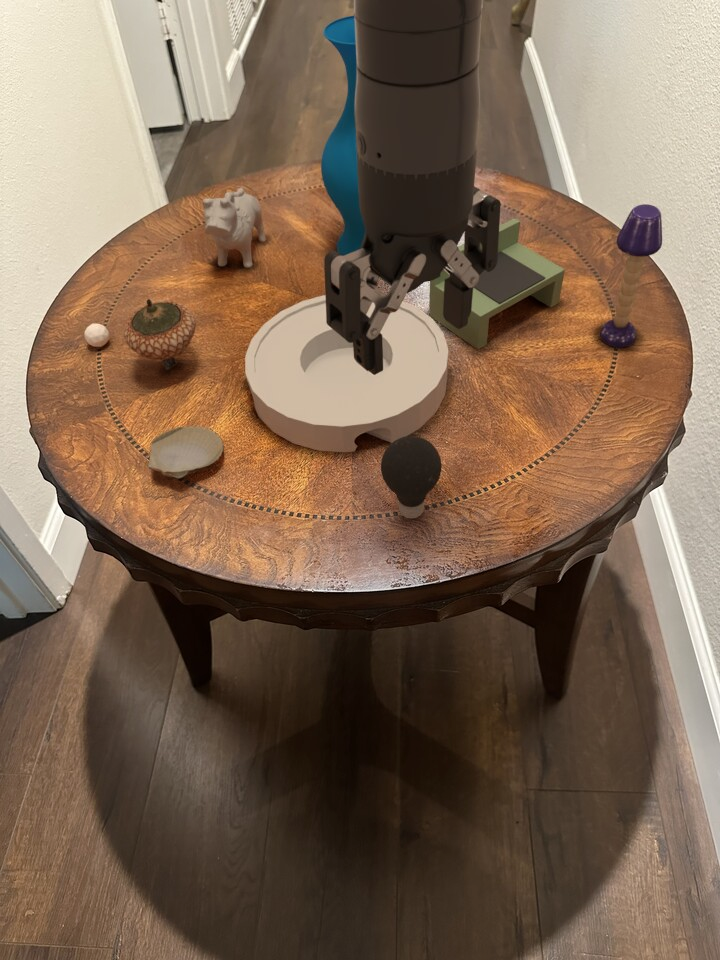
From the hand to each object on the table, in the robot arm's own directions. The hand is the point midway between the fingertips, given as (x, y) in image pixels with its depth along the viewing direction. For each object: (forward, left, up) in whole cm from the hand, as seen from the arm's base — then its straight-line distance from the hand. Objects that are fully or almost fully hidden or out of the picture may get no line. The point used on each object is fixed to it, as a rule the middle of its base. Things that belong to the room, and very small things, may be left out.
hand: (414, 344), depth 58 cm
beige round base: (-6, -20, -21) cm, 30 cm away
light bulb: (+1, 0, -21) cm, 21 cm away
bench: (-28, -18, -21) cm, 40 cm away
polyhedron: (+14, -46, -21) cm, 52 cm away
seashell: (+15, -21, -21) cm, 33 cm away
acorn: (+9, -36, -21) cm, 42 cm away
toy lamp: (-35, -5, -21) cm, 42 cm away
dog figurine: (-10, -51, -21) cm, 56 cm away
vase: (-25, -40, -21) cm, 52 cm away
